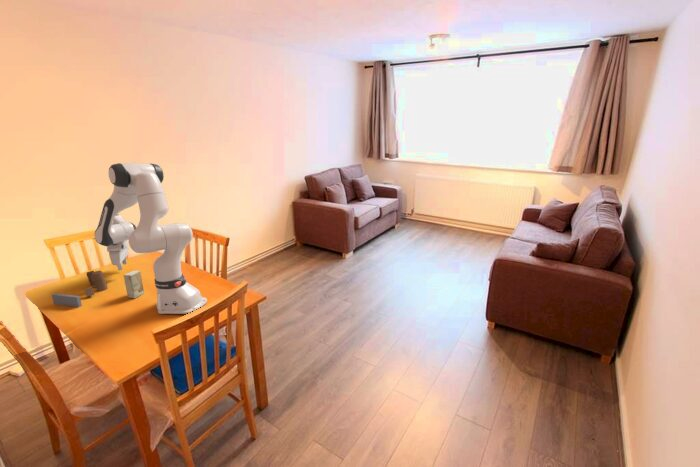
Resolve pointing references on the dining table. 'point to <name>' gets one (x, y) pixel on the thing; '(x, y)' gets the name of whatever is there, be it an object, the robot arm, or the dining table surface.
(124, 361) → the dining table surface
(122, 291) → the dining table surface
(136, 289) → the skincare box
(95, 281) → the wooden block set
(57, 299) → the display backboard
